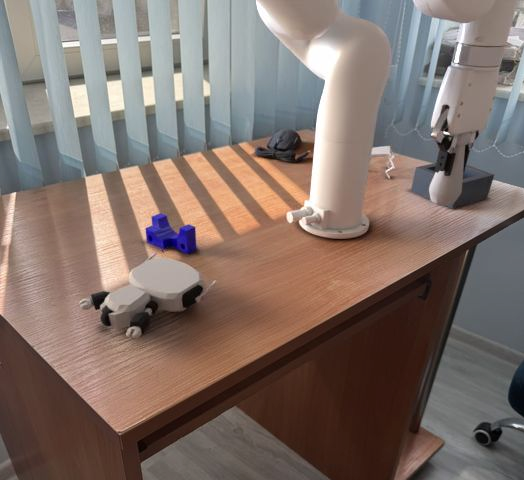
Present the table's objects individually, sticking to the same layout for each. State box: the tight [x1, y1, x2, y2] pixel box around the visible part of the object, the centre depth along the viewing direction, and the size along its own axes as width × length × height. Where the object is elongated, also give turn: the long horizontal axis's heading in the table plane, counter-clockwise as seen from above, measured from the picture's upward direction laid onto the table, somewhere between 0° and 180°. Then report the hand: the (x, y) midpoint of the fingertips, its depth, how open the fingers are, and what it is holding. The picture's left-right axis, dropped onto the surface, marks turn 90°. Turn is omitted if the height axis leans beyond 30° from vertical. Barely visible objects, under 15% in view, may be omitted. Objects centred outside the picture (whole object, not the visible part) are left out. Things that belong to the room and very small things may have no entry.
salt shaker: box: [429, 132, 471, 207], centre depth 93 cm, size 6×6×13 cm
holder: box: [410, 162, 495, 210], centre depth 107 cm, size 11×11×5 cm
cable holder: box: [144, 212, 197, 255], centre depth 84 cm, size 8×4×4 cm, turn 51°
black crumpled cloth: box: [253, 128, 312, 163], centre depth 127 cm, size 12×18×4 cm
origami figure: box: [371, 145, 396, 179], centre depth 117 cm, size 12×8×5 cm
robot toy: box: [78, 251, 218, 339], centre depth 69 cm, size 12×4×15 cm
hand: (449, 171), depth 94 cm, fingers closed on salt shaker, 3 cm apart
